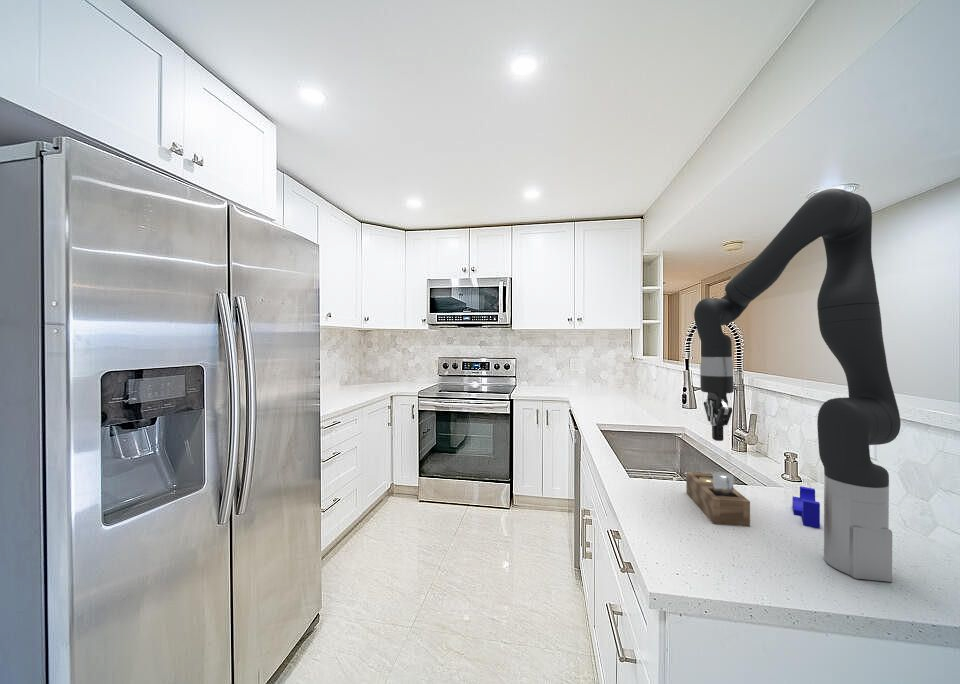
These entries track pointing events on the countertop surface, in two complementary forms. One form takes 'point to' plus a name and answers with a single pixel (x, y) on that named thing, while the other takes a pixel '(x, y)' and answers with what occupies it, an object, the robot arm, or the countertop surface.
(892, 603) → the countertop surface
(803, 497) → the blue block piece
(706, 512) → the wooden peg holder
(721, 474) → the steel peg
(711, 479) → the brass peg
